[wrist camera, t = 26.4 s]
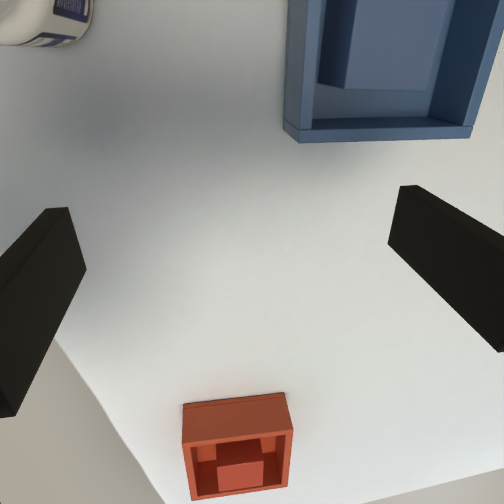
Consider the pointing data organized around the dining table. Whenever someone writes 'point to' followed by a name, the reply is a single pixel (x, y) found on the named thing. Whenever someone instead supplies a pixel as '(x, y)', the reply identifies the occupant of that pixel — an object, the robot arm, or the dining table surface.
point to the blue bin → (391, 102)
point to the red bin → (236, 429)
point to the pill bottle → (43, 22)
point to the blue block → (380, 43)
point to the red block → (239, 464)
